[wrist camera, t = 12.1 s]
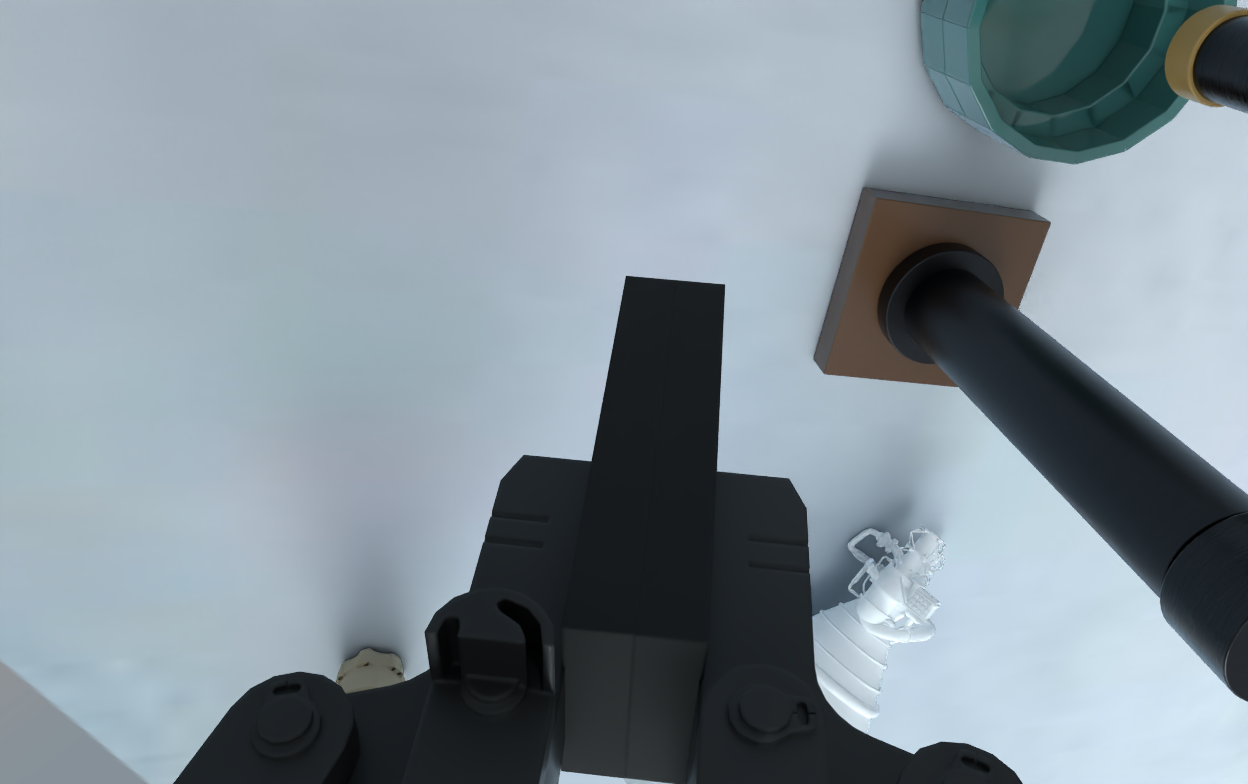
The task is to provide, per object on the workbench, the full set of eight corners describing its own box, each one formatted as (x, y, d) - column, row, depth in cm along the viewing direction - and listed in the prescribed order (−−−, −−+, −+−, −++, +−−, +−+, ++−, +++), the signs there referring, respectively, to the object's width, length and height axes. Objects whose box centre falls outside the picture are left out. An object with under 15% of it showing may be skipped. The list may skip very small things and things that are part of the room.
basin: (965, -166, 36) (1028, -168, 32) (1202, -112, 38) (1288, -108, 34) (883, 114, 40) (930, 142, 37) (1100, 148, 43) (1167, 179, 39)
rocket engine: (1043, 618, 41) (765, 944, 42) (1037, 621, 52) (814, 883, 53) (825, 445, 46) (579, 742, 47) (860, 480, 57) (658, 722, 58)
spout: (1037, 438, 38) (1317, 717, 26) (944, 413, 37) (1191, 692, 25) (1283, 29, 32) (1804, 140, 20) (1181, -17, 31) (1668, 70, 19)
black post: (862, 186, 42) (1159, 426, 24) (1033, 211, 44) (1424, 451, 26) (812, 359, 45) (1040, 677, 28) (972, 375, 47) (1281, 684, 30)
